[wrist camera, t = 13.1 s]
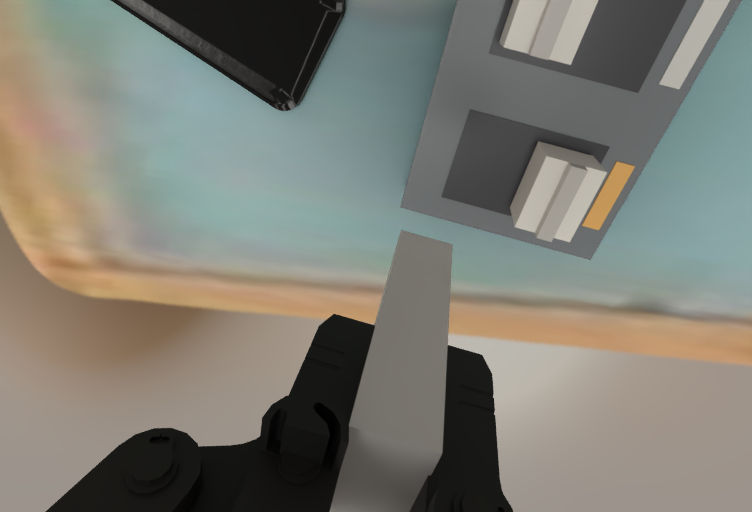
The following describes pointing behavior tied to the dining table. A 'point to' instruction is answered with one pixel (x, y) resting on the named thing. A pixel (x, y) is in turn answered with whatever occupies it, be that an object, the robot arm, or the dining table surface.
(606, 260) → the dining table surface
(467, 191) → the switch board
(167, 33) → the phone
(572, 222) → the switch tab
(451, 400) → the robot arm
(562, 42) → the switch tab
